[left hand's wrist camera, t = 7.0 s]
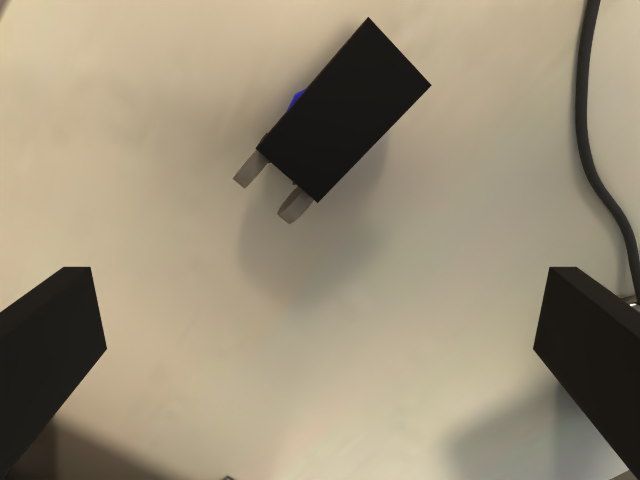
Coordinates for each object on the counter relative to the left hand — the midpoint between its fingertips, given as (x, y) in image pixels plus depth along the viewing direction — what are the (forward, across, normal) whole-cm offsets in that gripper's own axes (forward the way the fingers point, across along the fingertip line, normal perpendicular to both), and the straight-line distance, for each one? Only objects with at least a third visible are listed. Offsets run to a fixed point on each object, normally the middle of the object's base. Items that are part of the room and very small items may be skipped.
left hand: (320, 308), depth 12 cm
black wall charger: (+26, 0, +3) cm, 26 cm away
